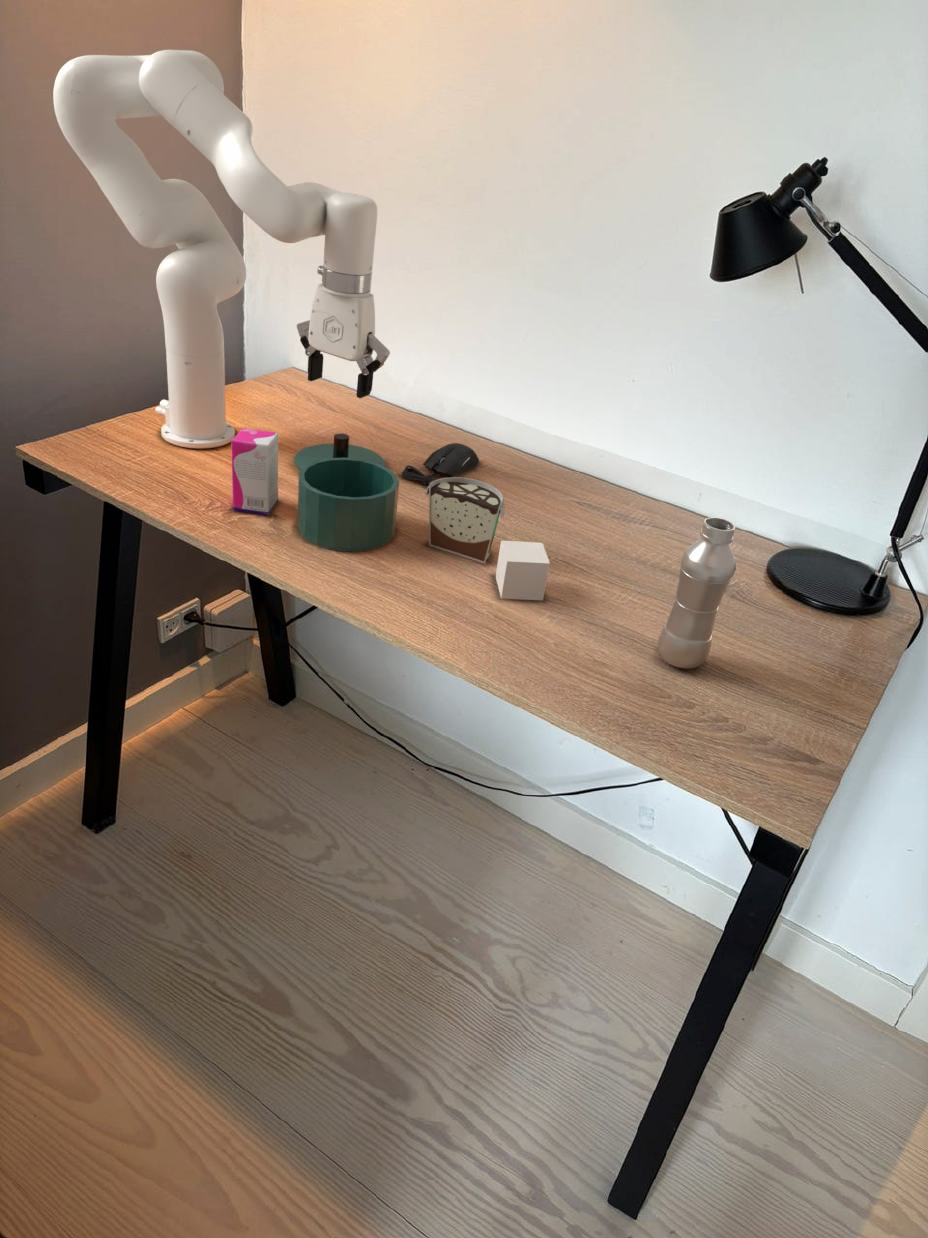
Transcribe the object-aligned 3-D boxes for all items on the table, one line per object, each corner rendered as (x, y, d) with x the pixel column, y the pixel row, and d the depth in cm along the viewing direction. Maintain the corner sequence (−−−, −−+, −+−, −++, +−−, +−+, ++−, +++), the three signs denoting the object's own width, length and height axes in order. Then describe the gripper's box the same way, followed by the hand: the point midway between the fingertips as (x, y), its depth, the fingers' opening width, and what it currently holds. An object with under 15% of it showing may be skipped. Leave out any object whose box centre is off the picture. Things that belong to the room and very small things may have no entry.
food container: (510, 550, 143) (519, 490, 138) (494, 566, 138) (503, 505, 133) (438, 527, 147) (444, 468, 141) (420, 542, 142) (426, 481, 136)
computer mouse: (512, 475, 167) (515, 454, 165) (451, 501, 155) (453, 479, 153) (458, 453, 173) (461, 432, 171) (396, 477, 161) (397, 455, 159)
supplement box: (279, 500, 148) (279, 431, 142) (268, 516, 143) (269, 446, 137) (243, 495, 148) (242, 426, 142) (231, 510, 143) (230, 440, 137)
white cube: (495, 577, 136) (500, 540, 132) (535, 579, 136) (542, 542, 133) (501, 598, 131) (507, 561, 127) (542, 600, 131) (549, 563, 128)
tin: (277, 530, 140) (278, 478, 135) (335, 498, 151) (337, 449, 147) (359, 561, 135) (362, 508, 130) (412, 526, 146) (417, 476, 142)
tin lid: (275, 468, 158) (275, 436, 155) (329, 442, 170) (330, 412, 167) (352, 495, 153) (353, 462, 150) (402, 466, 165) (404, 436, 162)
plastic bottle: (648, 645, 125) (684, 510, 114) (697, 647, 126) (737, 513, 115) (661, 674, 119) (700, 534, 109) (711, 676, 120) (755, 538, 110)
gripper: (286, 270, 145) (282, 377, 154) (380, 298, 139) (370, 408, 149) (315, 264, 151) (309, 368, 160) (406, 291, 145) (395, 397, 154)
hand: (338, 387), depth 154 cm, fingers open, 9 cm apart
